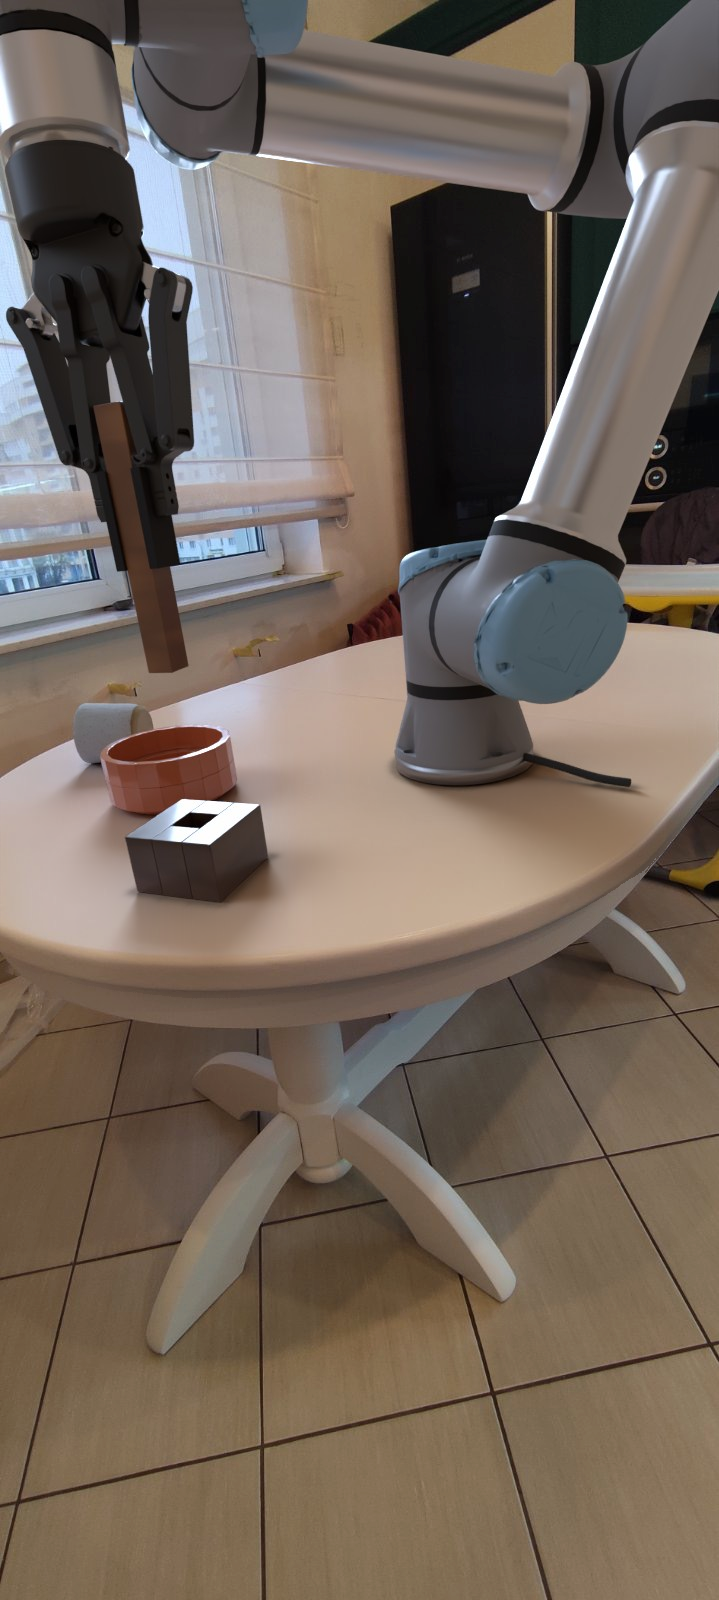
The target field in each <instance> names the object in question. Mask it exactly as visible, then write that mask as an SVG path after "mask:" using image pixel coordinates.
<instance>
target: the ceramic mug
mask: <svg viewBox="0 0 719 1600" xmlns="http://www.w3.org/2000/svg"><path fill="white" fill-rule="evenodd" d="M153 729H155V728H154V722H153V718H152V715H151V713H150V712H149V710H148V709H147V708H146V707H145V706H144V705H140V704H135V703H124V702H123V703H122V702H121V703H111V702H110V703H108V702H107V703H105V702H103V703H102V702H84V703H82V704H80V705H79V706H78V707H77V709H76V711H75V713H74V716H73V722H72V734H73V742H74V746H75V749H76V752H77V754H78V756H79V757H80V759H81V760H82V761H83V762H84V763H87V764H98V763H101V759H100V755H101V751H102V750H103V749H104V748H105V747H106V746H108V745H109V744H111V743H113V742H115V741H117V740H119V739H121V738H124V737H127V736H130V735H133V734H136V733H140V732H144V731H148V730H153ZM101 764H102V763H101Z"/></svg>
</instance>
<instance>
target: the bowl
mask: <svg viewBox="0 0 719 1600" xmlns="http://www.w3.org/2000/svg"><path fill="white" fill-rule="evenodd" d="M231 739H232V738H231V735H230V732H229V730H228V729H226V728H223V727H222V726H217V725H211V724H181V725H171V726H165V727H159V728H154V729H153V730H148V731H144V732H140V733H136V734H133V735H130V736H127V737H124V738H121V739H119V740H117V741H115V742H113V743H111V744H109V745H108V746H106V747H105V748H104V749H103V750H102V751H101V755H100V759H101V767H102V771H103V775H104V779H105V783H106V788H107V792H108V797H109V801H110V803H111V804H112V805H113V806H114V807H115V808H117V809H120V810H123V811H126V812H131V813H135V814H140V815H159V814H160V813H162V812H163V811H165V810H166V809H168V808H169V807H171V806H172V805H174V804H175V803H177V802H178V801H180V800H181V799H186V800H200V801H216V800H217V799H219V798H220V797H222V796H223V795H224V794H226V793H227V792H228V791H230V790H231V789H233V788H234V786H235V785H236V783H237V781H238V775H237V769H236V763H235V758H234V751H233V745H232V740H231Z"/></svg>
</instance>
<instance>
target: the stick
mask: <svg viewBox="0 0 719 1600" xmlns="http://www.w3.org/2000/svg"><path fill="white" fill-rule="evenodd" d="M93 407H94V412H95V417H96V422H97V427H98V431H99V436H100V441H101V446H102V451H103V455H104V460H105V465H106V470H107V474H108V479H109V484H110V489H111V494H112V498H113V503H114V508H115V513H116V518H117V522H118V527H119V532H120V537H121V542H122V546H123V551H124V556H125V561H126V566H127V571H126V572H127V575H128V580H129V585H130V590H131V594H132V599H133V605H134V608H135V613H136V618H137V623H138V628H139V632H140V638H141V642H142V647H143V653H144V656H145V657H144V658H145V660H146V667H147V671H148V674H173V673H176V672H178V671H180V670H183V669H186V668H188V667H190V665H189V661H188V656H187V649H186V644H185V639H184V633H183V627H182V623H181V617H180V613H179V607H178V602H177V601H178V600H177V596H176V590H175V585H174V580H173V574H172V570H171V569H172V568H171V566H169V567H163V568H157V569H150V567H149V562H148V557H147V552H146V547H145V542H144V536H143V531H142V526H141V521H140V516H139V511H138V506H137V501H136V496H135V491H134V486H133V481H132V476H131V471H130V468H135V467H145V466H144V465H141V464H136V463H135V462H134V461H133V460H132V456H135V455H138V454H137V451H136V447H135V444H134V440H133V436H132V433H131V429H130V426H129V422H128V418H127V415H126V411H125V408H124V404H123V400H122V401H121V400H116V401H111V403H106V404H100V405H95V406H93Z"/></svg>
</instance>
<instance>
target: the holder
mask: <svg viewBox="0 0 719 1600" xmlns="http://www.w3.org/2000/svg"><path fill="white" fill-rule="evenodd" d="M124 839H125V840H124V841H125V843H126V844H125V845H126V848H127V852H128V857H129V861H130V865H131V870H132V875H133V879H134V883H135V887H136V892H138V893H145V894H153V895H160V896H161V895H162V896H167V897H176V898H184V899H189V900H190V899H191V900H193V899H194V900H200V901H209V902H216V903H221V902H222V901H224V900H225V899H226V898H227V897H228V896H229V895H230V894H231V893H232V892H233V891H235V889H236V888H237V887H238V886H239V885H240V884H242V883H243V882H244V881H245V880H246V879H247V878H248V877H249V876H250V875H251V874H252V873H253V872H254V871H255V870H256V869H257V868H258V867H259V866H260V865H261V864H263V862H265V861H266V860H267V859H268V858H269V853H268V846H267V840H266V832H265V826H264V820H263V813H262V807H261V804H256V803H255V804H254V803H241V802H227V801H216V800H214V801H200V800H186V799H181V800H180V801H178V802H177V803H175V804H174V805H172V806H171V807H169V808H168V809H166V810H165V811H163V812H162V813H160V814H156V815H155V816H154V817H153V818H151V819H150V820H148V821H146V822H144V824H142V825H140V826H139V827H138V828H136V829H135V830H133V831H132V832H130V833H128V834H126V835H125V836H124Z"/></svg>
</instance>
